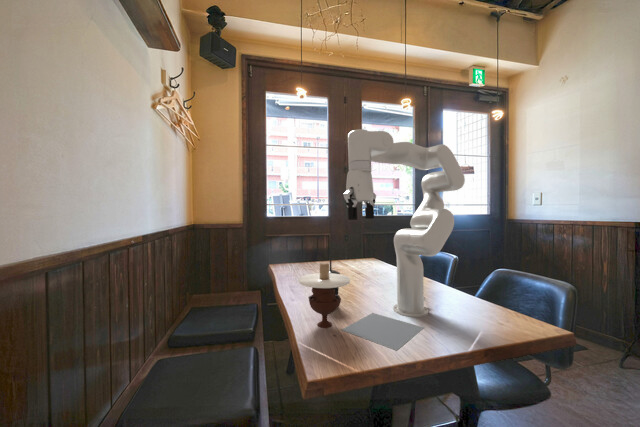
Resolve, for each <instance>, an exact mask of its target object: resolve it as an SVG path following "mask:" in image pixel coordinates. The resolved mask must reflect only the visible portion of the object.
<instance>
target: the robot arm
mask: <svg viewBox="0 0 640 427" xmlns="http://www.w3.org/2000/svg"><path fill="white" fill-rule="evenodd" d="M347 150H348V151H347V153H348V154H347V156H348V157H347V158H348V172H347V175H346V182H345V183H346V184H345V185H346V186H345V187H346V188H345V192H344V193H343V198H344V203H345V204H346V207H347V213H348V214H347V215H348V218H347V219H348V220H349V221H355V220H358V206H357V205H358V203H364V205H365V206H364V207H365V208H364V211H365V212H364V213H365V215H364V216H365V219H366V220H368V219H372V220H373V219H374V218H375V213H374V212H375V209H374V208H375V204H376V198H377V194H376V193H375V192H374V181H373V176H372V162H373V163H379V164H390V165H403V166H406V167H409V168H412V169H413V168H414V169H416V170H422V171H427V170H433V169H438V168H441V169H442V170H440V171H439V170H438V171H432V172H429V173H427V174H425V175H424V176H423V177H422V180H421V184H420V185H421V189H422V195H423V199H422V201H421V203H420V205H419V206H418V208H417V209H416V210H415V212H414V214H412V217H411V219H410V222H409V225H410V227H411V228H409V227H408V228H407V227H406V228H402V229H399V230H398V231H396V232H395V234H394V237H393V245H394V251H395V255H396V290H397V291H396V301H397V302H396V304H394V305H393V307H392V310H393V312H394V313H396V314H397V315H400V316H404V317H409V318H424V317H426V316H428V315H429V309H428V308H427V307H425V305H424V304H425V301H426V297H425V295H424V292H425V291H424V289H425V288H424V264H423V261H422V258H421V256H424V257H434V256H437V255H438V254H439V253H440V252H441V250H442V249H443V247H444V246H445V244H446V242H447V240H448V238H449V237H450V235H451V234H452V232H453V229H454V226H455V217H454V214H453V212H452V211H450V210H449V209H447V208H445V203H444V200H443V199H442V197H441V195H440V192H441V193H442V192H443V193H444V192H455V191H458V190H460V189H462V188H463V187H464V184H465V182H466V180H465V174H464V172H463V169H462V167H461V166H460V164H459V162H458V160H457V158H456V157H455V154H454V153H453V151H452V150H451V149H450V147H448V146H447V145H446V144H442V143H441V144H436V145H434V146H429V147H424V146H421V145H418V144H415V143H412V142H410V141H399V142H394V137H393V136H392V134H390V133H389V132H387V131H384V130H378V131H377V130H371V131H369V130H367V129H365V128H363V129H362V128H361V129H354V130H351V131H350V132H349V133H348V134H347Z"/></svg>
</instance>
